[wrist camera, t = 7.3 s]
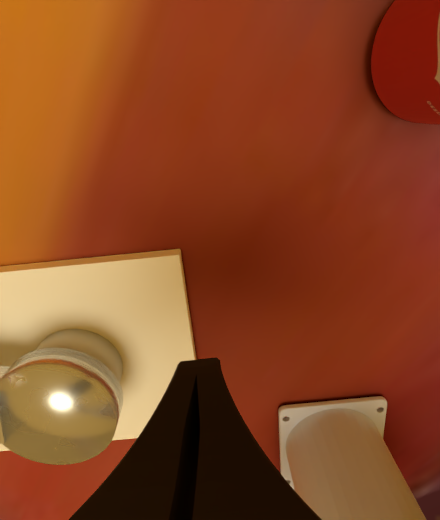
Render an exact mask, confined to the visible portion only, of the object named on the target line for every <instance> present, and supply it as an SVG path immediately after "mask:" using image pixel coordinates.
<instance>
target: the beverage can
mask: <svg viewBox="0 0 440 520" xmlns="http://www.w3.org/2000/svg"><path fill="white" fill-rule="evenodd" d="M371 72H372V79H373V83H374V87H375V90H376V92H377V94H378V96H379V98H380V100H381V101H382V103H383V104H384V105H385V107H386V108H387V109H388V110H389V111H390V112H392V113H393V114H394V115H396V116H397V117H399V118H401V119H403V120H406V121H410V122H414V123H425V124H440V0H395V1H394V2H393V3H392V5H391V6H390V7H389V9H388V10H387V12H386V14H385V15H384V17H383V19H382V21H381V23H380V25H379V28H378V30H377V33H376V36H375V40H374V43H373V49H372V55H371Z"/></svg>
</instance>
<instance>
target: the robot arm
mask: <svg viewBox="0 0 440 520" xmlns="http://www.w3.org/2000/svg"><path fill="white" fill-rule="evenodd" d="M386 411H387V401H386V399H385V398H384V397H382V396H376V397H366V398H355V399H345V400H334V401H324V402H314V403H303V404H293V405H284V406H281V407H280V408H279V410H278V418H279V447H280V472H279V471H278V470H277V469H276V467H275V466H274V465H273V464H272V463H271V461H270V460H269V458H268V457H267V456H266V454H265V453H264V451H263V450H262V449H261V447H260V446H259V444H258V443H257V441H256V440H255V438H254V437H253V435H252V434H251V432H250V430H249V429H248V427H247V425H246V424H245V422H244V420H243V418H242V417H241V415H240V413H239V411H238V409H237V407H236V405H235V403H234V401H233V399H232V397H231V395H230V393H229V390H228V388H227V386H226V383H225V380H224V377H223V374H222V371H221V365H220V360H219V359H218V358H208V359H198V360H189V361H181V362H180V363H179V364H178V365H177V368H176V370H175V373H174V375H173V377H172V379H171V381H170V383H169V385H168V387H167V389H166V391H165V393H164V395H163V397H162V399H161V401H160V402H159V404H158V406H157V408H156V410H155V411H154V413H153V415H152V416H151V418H150V419H149V421H148V423H147V424H146V426H145V427H144V429H143V431H142V432H141V434H140V435H139V437H138V438H137V440H136V441H135V443H134V444H133V445H132V447H131V448H130V449H129V451H128V452H127V454H126V455H125V456H124V458H123V459H122V460H121V461H120V463H119V464H118V465H117V466H116V468H115V469H114V470H113V471H112V473H111V474H110V475H109V476H108V477H107V479H106V480H105V481H104V482H103V483H102V484H101V486H100V487H99V488H98V489H97V490H96V491H95V492H94V493H93V495H92V496H91V497H90V498H89V499H88V500H87V501H86V502H85V503H84V504H83V505H82V506H81V507H80V508H79V509H78V510H77V511H76V512H75V513H74V515H73V516H72V517H71V518H70V519H69V520H426V518H425V517H424V515H423V513H422V511H421V509H420V507H419V505H418V503H417V501H416V500H415V498H414V496H413V494H412V492H411V490H410V488H409V487H408V485H407V483H406V481H405V479H404V477H403V475H402V473H401V472H400V470H399V468H398V466H397V464H396V462H395V460H394V459H393V457H392V455H391V453H390V451H389V449H388V447H387V446H386V444H385V442H384V440H383V434H384V426H385V419H386ZM286 416H287V417H286Z"/></svg>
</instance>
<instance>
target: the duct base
mask: <svg viewBox="0 0 440 520" xmlns="http://www.w3.org/2000/svg"><path fill="white" fill-rule="evenodd" d="M43 348H67V349H72V350H77V351H80V352H83V353H86V354H88V355H90V356H92V357H94V358H96V359H97V360H99V361H101V362H102V363H103V364H105V365H106V366H107V367H108V368H109V369H110V370H111V371H112V372H113V373H114V375H115V376H116V378H117V379H118V381H119V383H120V385H121V388H122V392H123V406H122V410H121V413H120V417H119V420H118V424H117V427H116V431H115V434H114V437H113V439H112V440H121V439H132V438H138V437H139V435H140V434H141V432H142V431H143V429H144V427H145V426H146V424H147V423H148V421H149V419H150V418H151V416H152V415H153V413H154V411H155V410H156V408H157V406H158V404H159V402H160V401H161V399H162V397H163V395H164V393H165V391H166V389H167V387H168V385H169V383H170V381H171V379H172V377H173V375H174V373H175V370H176V368H177V365H178V364H179V363H180V362H181V361H189V360H197V359H196V352H195V346H194V339H193V332H192V325H191V318H190V311H189V304H188V298H187V291H186V284H185V277H184V270H183V263H182V256H181V250H180V249H171V250H161V251H151V252H141V253H131V254H120V255H110V256H100V257H90V258H80V259H70V260H59V261H49V262H39V263H29V264H19V265H8V266H0V366H11V365H12V364H13V363H14V362H15V361H16V360H17V359H18V358H20V357H21V356H23V355H25V354H27V353H29V352H32V351H35V350H38V349H43ZM7 450H9V449H8V448H7V447H5V446H4V445H3V444H0V451H7Z"/></svg>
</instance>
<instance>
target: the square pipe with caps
mask: <svg viewBox="0 0 440 520" xmlns="http://www.w3.org/2000/svg"><path fill="white" fill-rule="evenodd" d="M122 406H123V392H122V388H121V385H120V383H119V381H118V379H117V378H116V376H115V375H114V373H113V372H112V371H111V370H110V369H109V368H108V367H107V366H106V365H105V364H103V363H102V362H101V361H99V360H97V359H96V358H94V357H92V356H90V355H88V354H86V353H83V352H80V351H77V350H72V349H67V348H43V349H38V350H35V351H32V352H29V353H27V354H25V355H23V356H21V357H20V358H18V359H17V360H16V361H15V362H14V363H13V364H12V365H11V366H0V444H3V445H4V446H5V447H7V448H8V449H9V450H11V451H13V452H14V453H16V454H18V455H20V456H22V457H24V458H27V459H30V460H33V461H36V462H40V463H46V464H55V465H65V464H74V463H79V462H82V461H86V460H88V459H91V458H93V457H95V456H96V455H98V454H100V453H101V452H102V451H103V450H104V449H105V448H106V447H107V446H108V445H109V444H110V442H111V441H112V439H113V437H114V434H115V431H116V427H117V424H118V420H119V417H120V413H121V410H122Z"/></svg>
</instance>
